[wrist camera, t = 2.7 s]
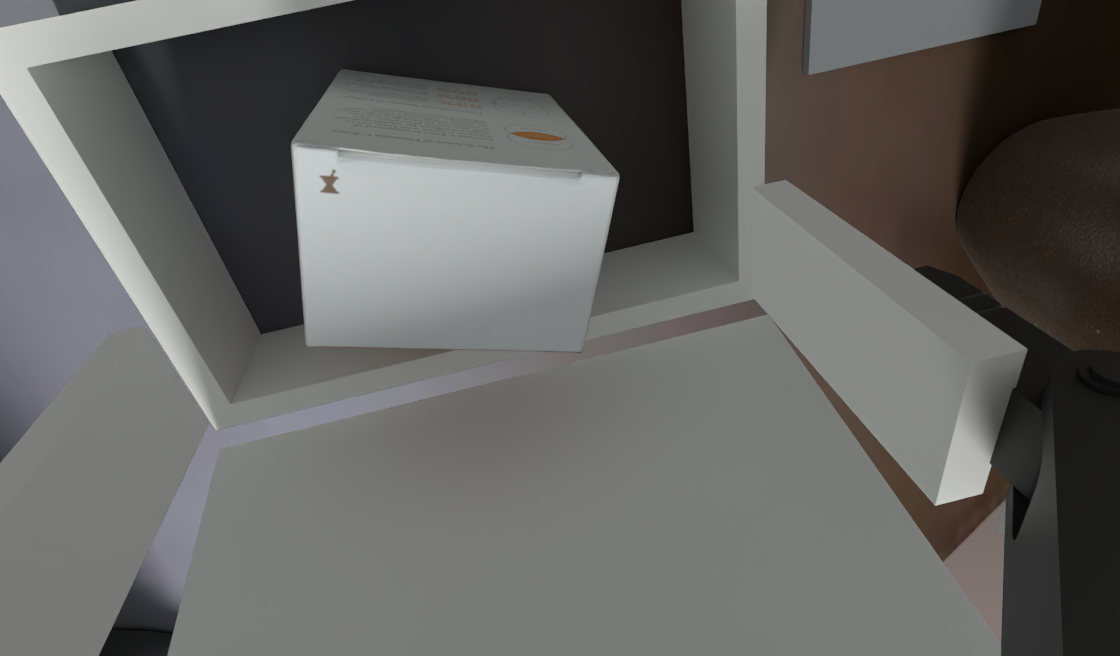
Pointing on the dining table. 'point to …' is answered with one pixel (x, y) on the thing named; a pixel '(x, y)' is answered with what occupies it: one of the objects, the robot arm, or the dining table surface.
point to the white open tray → (282, 356)
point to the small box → (447, 217)
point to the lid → (576, 523)
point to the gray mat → (900, 27)
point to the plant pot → (1052, 227)
